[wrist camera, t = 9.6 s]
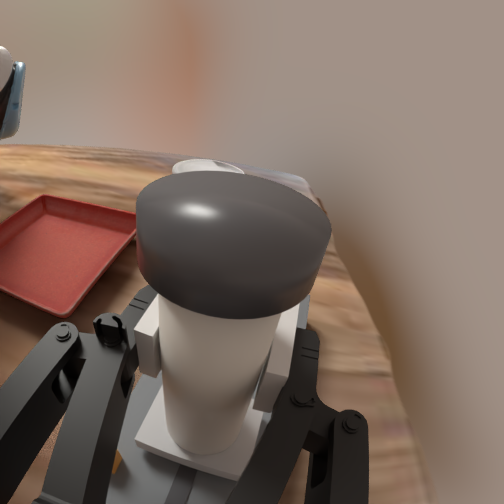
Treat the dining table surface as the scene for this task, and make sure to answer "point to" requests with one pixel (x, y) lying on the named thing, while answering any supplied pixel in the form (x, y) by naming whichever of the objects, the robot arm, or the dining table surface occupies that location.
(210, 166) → the ramekin
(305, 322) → the fader console
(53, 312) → the plant saucer
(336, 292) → the dining table surface
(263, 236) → the handle
